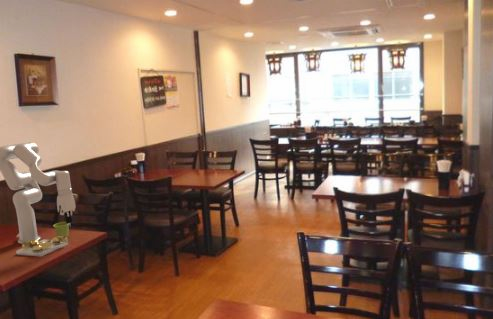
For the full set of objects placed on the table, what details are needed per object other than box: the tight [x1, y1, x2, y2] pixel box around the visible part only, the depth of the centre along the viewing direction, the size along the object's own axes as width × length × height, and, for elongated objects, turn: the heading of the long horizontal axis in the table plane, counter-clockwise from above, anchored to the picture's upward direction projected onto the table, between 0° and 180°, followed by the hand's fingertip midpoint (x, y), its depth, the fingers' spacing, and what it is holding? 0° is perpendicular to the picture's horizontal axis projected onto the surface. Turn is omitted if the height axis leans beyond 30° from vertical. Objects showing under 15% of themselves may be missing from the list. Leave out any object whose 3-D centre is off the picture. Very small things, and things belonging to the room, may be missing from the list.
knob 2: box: [51, 236, 69, 243], centre depth 254 cm, size 10×4×3 cm, turn 69°
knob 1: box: [33, 239, 52, 251], centre depth 244 cm, size 10×4×3 cm, turn 135°
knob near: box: [21, 240, 39, 249], centre depth 250 cm, size 10×4×3 cm, turn 159°
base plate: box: [15, 238, 69, 258], centre depth 250 cm, size 18×20×4 cm
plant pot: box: [52, 221, 71, 238], centre depth 270 cm, size 9×9×9 cm
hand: (69, 222), depth 256 cm, fingers closed
